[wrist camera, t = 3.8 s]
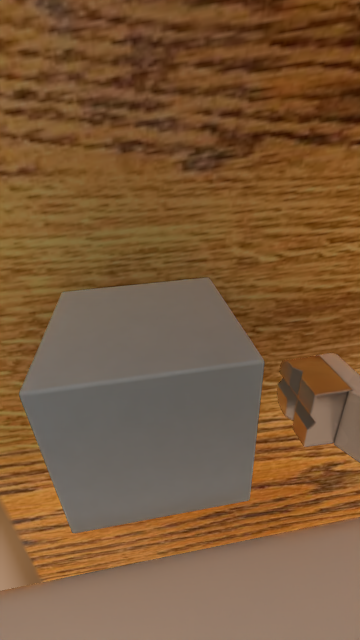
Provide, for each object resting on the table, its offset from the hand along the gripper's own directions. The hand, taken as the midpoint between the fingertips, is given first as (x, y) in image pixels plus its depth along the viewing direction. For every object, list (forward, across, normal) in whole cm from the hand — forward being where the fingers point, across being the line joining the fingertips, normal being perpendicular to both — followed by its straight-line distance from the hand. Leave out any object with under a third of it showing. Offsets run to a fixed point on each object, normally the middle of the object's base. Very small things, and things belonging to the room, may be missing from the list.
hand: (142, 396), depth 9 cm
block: (+2, 0, 0) cm, 2 cm away
